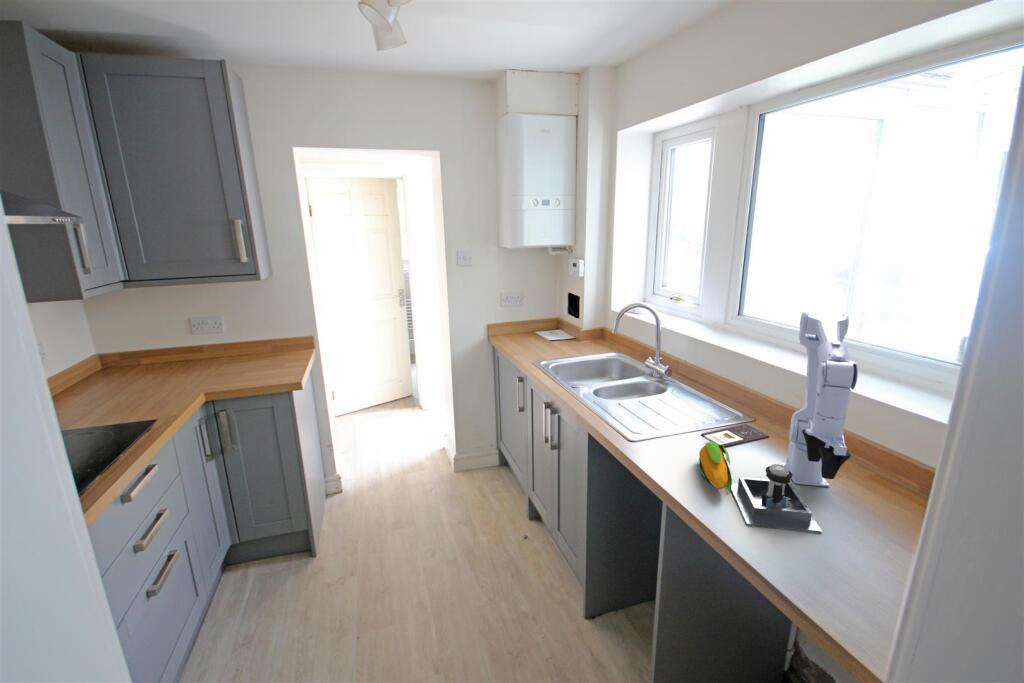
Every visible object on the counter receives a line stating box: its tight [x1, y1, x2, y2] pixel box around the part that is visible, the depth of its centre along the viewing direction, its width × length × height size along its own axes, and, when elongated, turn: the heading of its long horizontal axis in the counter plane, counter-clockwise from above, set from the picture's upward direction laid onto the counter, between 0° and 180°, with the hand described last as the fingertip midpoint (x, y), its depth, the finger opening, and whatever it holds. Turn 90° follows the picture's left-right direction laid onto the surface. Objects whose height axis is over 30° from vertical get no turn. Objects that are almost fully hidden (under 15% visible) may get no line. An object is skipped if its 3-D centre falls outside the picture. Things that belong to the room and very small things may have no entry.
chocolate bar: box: [700, 423, 770, 449], centre depth 141 cm, size 9×1×18 cm
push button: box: [761, 463, 792, 508], centre depth 106 cm, size 7×5×10 cm
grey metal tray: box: [729, 476, 823, 534], centre depth 107 cm, size 16×15×4 cm
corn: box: [698, 441, 733, 491], centre depth 119 cm, size 7×8×20 cm
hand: (820, 469), depth 104 cm, fingers open, 7 cm apart
